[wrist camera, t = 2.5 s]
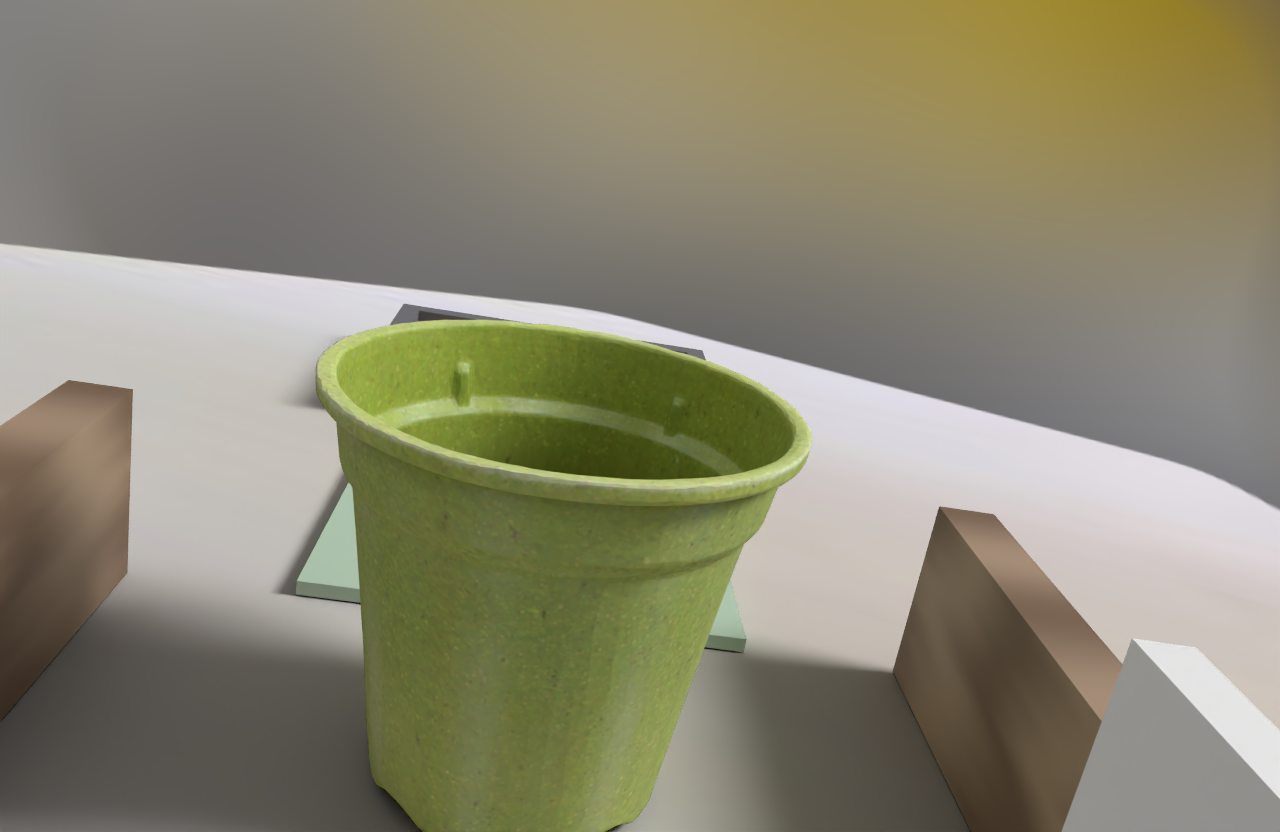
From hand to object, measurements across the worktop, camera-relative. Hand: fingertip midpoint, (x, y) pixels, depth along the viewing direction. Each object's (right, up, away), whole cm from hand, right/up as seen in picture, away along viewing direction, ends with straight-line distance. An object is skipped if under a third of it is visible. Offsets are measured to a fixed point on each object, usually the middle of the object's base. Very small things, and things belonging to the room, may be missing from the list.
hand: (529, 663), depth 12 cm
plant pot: (-2, -5, +12) cm, 13 cm away
